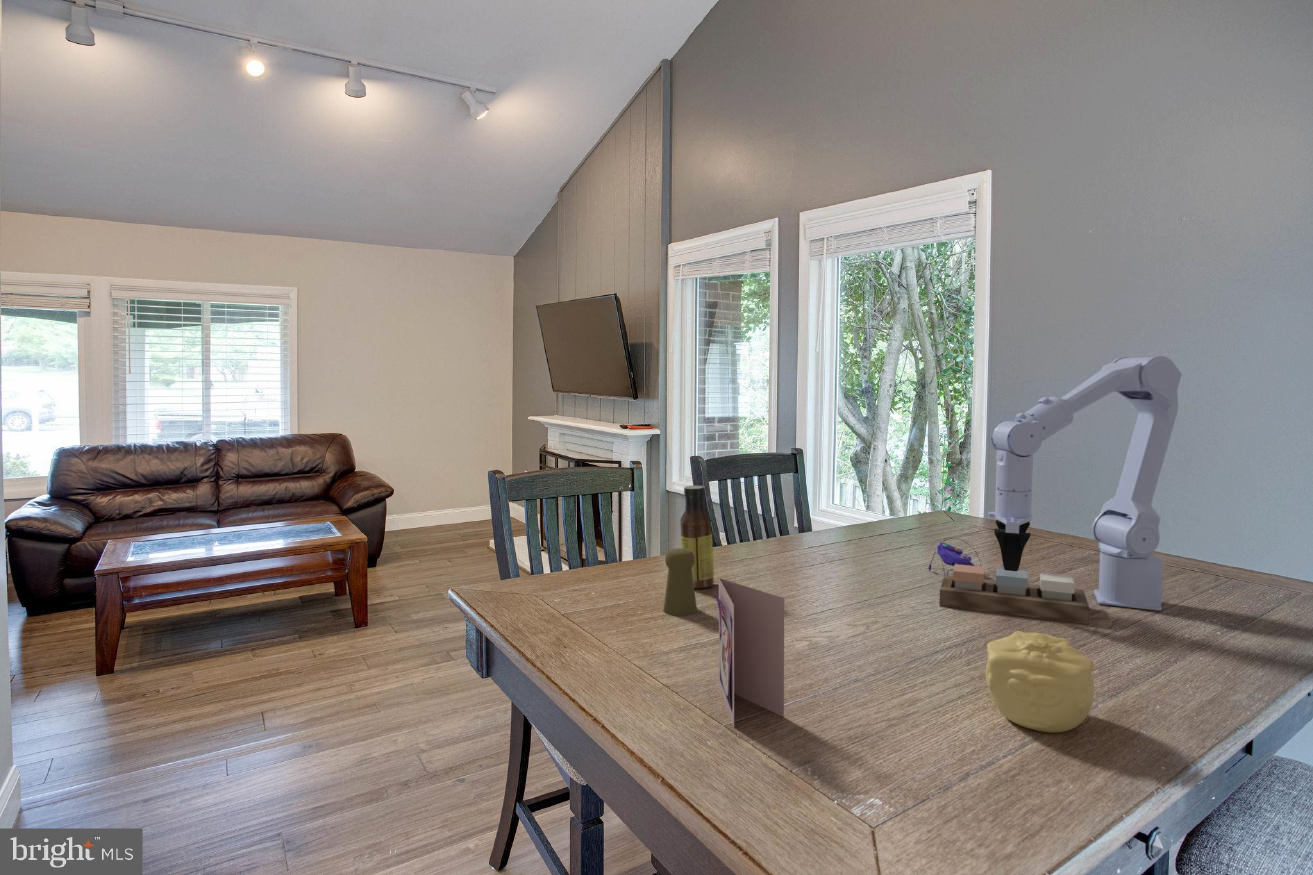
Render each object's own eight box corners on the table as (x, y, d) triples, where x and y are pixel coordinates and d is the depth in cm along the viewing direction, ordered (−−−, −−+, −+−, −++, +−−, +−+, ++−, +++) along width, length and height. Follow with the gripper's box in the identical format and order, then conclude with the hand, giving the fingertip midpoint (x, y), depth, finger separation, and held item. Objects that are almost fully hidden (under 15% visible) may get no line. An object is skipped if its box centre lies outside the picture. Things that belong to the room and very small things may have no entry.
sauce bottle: (714, 581, 147) (713, 484, 145) (713, 590, 141) (713, 489, 139) (682, 580, 147) (681, 484, 146) (680, 589, 141) (679, 489, 139)
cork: (694, 616, 126) (694, 554, 125) (660, 614, 127) (659, 553, 126) (699, 605, 132) (699, 546, 131) (666, 603, 133) (666, 544, 132)
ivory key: (1071, 594, 127) (1072, 575, 127) (1073, 602, 123) (1074, 583, 122) (1039, 591, 129) (1040, 572, 129) (1040, 599, 125) (1041, 579, 124)
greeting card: (712, 686, 98) (712, 577, 96) (767, 684, 98) (767, 576, 97) (726, 727, 86) (726, 605, 85) (788, 725, 87) (788, 603, 85)
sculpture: (977, 727, 86) (979, 639, 85) (994, 690, 96) (996, 610, 95) (1089, 754, 79) (1093, 659, 79) (1095, 711, 89) (1099, 626, 88)
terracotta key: (984, 585, 133) (984, 567, 133) (983, 592, 129) (983, 573, 128) (954, 581, 135) (955, 564, 135) (952, 589, 131) (953, 570, 131)
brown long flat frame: (1082, 606, 129) (1083, 589, 128) (1088, 624, 120) (1088, 606, 119) (944, 590, 139) (944, 575, 138) (939, 605, 130) (939, 589, 129)
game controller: (996, 559, 147) (958, 554, 143) (979, 594, 149) (942, 589, 146) (964, 535, 156) (927, 530, 152) (948, 568, 158) (912, 563, 154)
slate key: (1026, 589, 130) (1027, 571, 130) (1027, 597, 126) (1027, 578, 125) (996, 586, 132) (996, 568, 132) (995, 594, 128) (996, 575, 127)
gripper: (990, 482, 136) (987, 553, 137) (987, 494, 123) (984, 572, 124) (1032, 484, 133) (1029, 557, 134) (1034, 497, 120) (1031, 577, 121)
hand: (1011, 565), depth 129 cm, fingers open, 7 cm apart
